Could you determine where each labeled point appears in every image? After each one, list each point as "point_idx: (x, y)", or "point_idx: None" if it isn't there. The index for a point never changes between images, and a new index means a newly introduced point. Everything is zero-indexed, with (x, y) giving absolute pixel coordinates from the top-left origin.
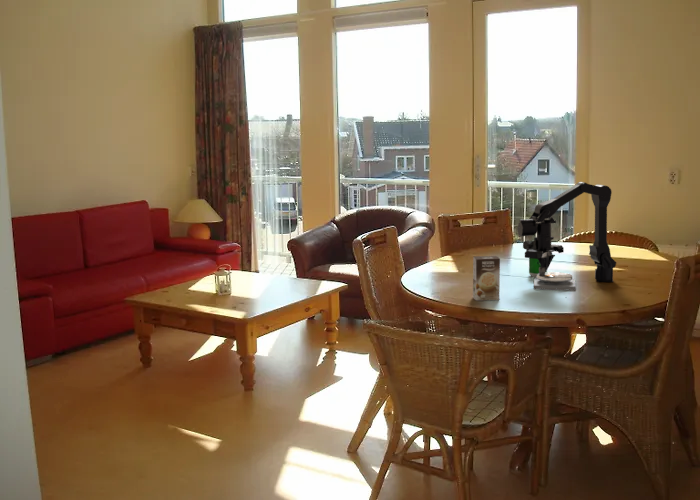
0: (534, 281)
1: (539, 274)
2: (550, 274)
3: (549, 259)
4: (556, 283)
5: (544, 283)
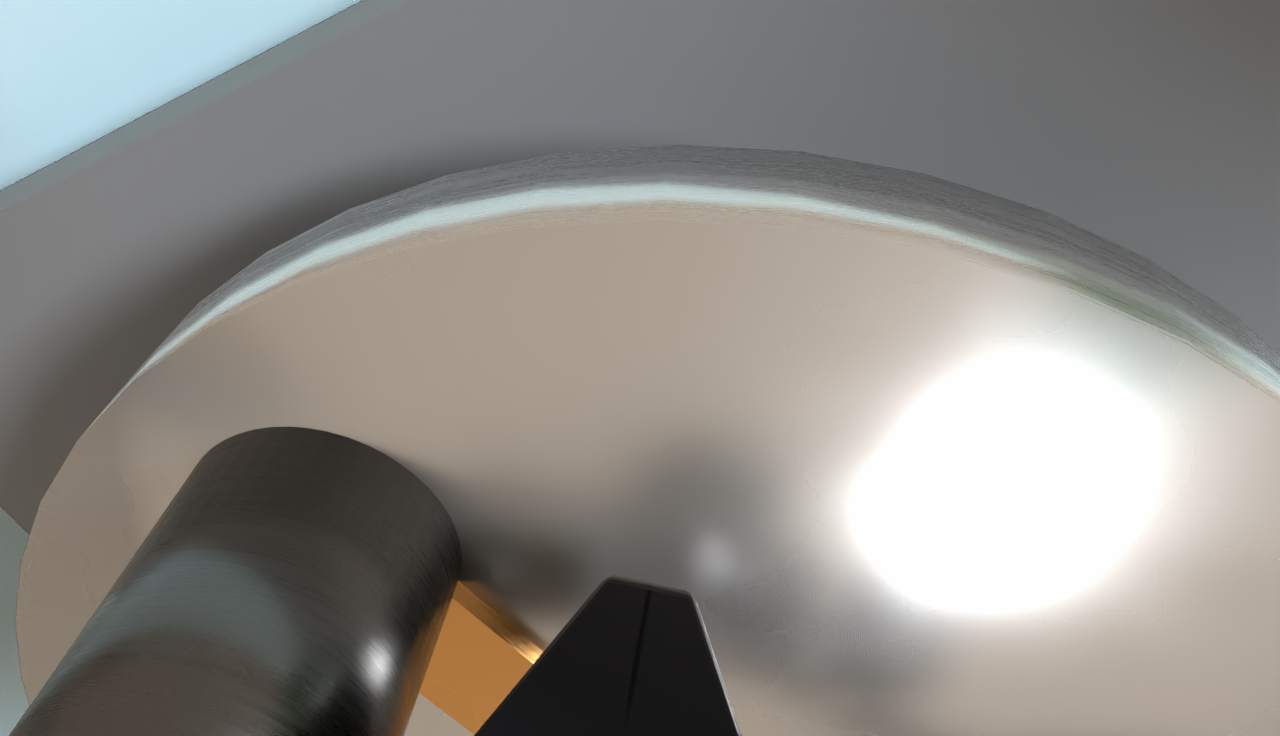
0: (350, 48)
1: (158, 524)
2: (813, 700)
3: None
4: None
5: None
